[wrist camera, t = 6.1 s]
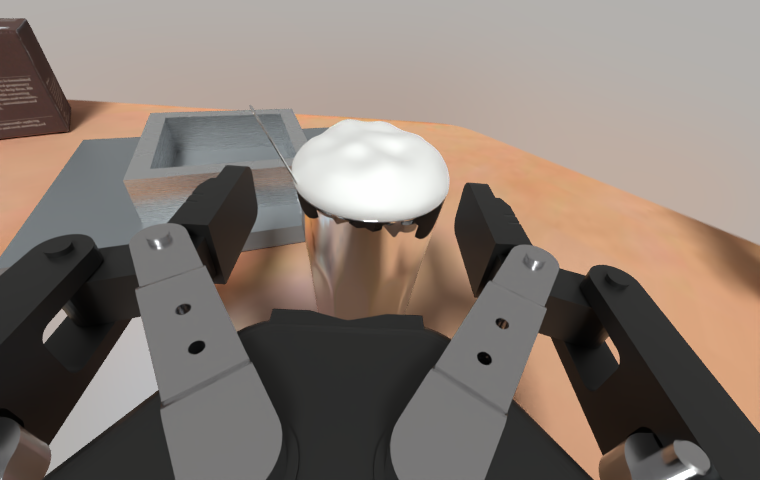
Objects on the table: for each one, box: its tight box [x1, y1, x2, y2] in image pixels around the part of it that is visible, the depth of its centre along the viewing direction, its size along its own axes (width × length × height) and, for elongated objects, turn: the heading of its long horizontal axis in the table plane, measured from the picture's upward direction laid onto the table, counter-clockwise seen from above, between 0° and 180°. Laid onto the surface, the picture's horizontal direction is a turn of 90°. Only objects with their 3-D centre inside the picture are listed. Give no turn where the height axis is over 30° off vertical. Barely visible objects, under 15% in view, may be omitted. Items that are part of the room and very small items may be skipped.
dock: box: [0, 109, 329, 275], centre depth 22 cm, size 20×14×4 cm
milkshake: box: [250, 105, 449, 320], centre depth 11 cm, size 4×5×10 cm
